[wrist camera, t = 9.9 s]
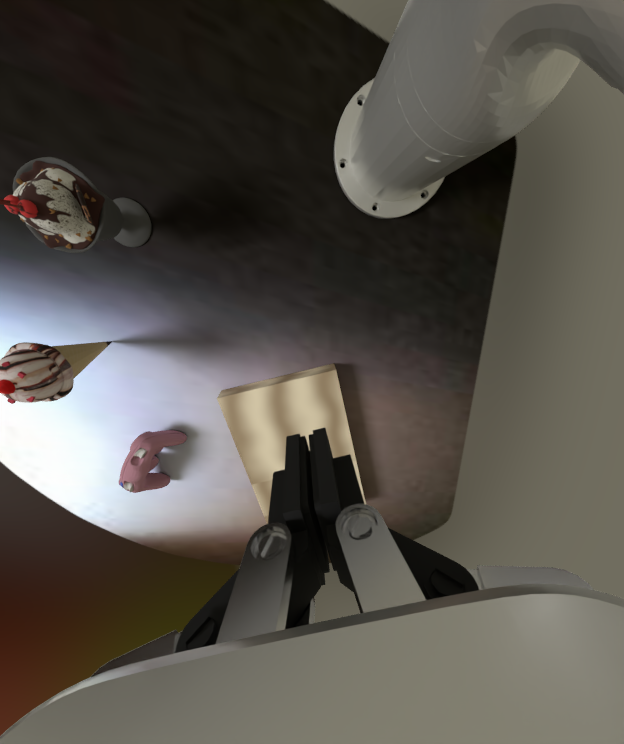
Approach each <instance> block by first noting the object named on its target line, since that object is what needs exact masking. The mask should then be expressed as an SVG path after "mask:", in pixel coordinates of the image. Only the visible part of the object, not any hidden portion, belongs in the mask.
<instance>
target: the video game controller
mask: <svg viewBox="0 0 624 744" xmlns="http://www.w3.org/2000/svg"><path fill="white" fill-rule="evenodd" d="M186 440H187V436H186V435H185V434H184V433H182V432H179V431H173V430H166V431H158V432H145V433H143V434H141V435H140V436H138V437H137V438H136V439H135V441H134V442H133V443H132V445H131V447H130V452H129V454H128V456H127V458H126V459H125V461H124V464H123V466H122V470H121V474H120V480H119V485H121V486H122V487H123V488H124V489H125V490H128V491H130V492H134V493H136V492H141V491H145V490H152V489H158V488H162V487H165V486H167V485H168V484H169V483H170V477H169V476H167V475H165V474H162V473H149V472H150V471H151V470H152V469H153V468H154V467H155V466H156V465H157V464H158V462H159V459H158V458H157V457H156V456H154V455H155V454H157V453H159V452H160V451H161V450H162V449H163V447H167V446H174V445H179V444H182V443H184V442H185V441H186Z"/></svg>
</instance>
